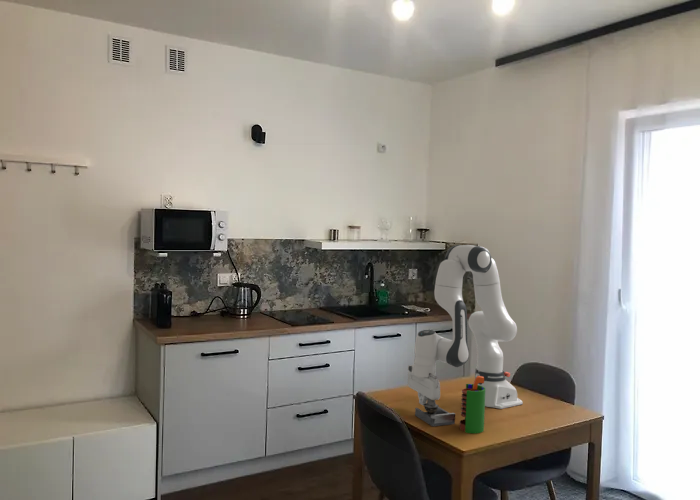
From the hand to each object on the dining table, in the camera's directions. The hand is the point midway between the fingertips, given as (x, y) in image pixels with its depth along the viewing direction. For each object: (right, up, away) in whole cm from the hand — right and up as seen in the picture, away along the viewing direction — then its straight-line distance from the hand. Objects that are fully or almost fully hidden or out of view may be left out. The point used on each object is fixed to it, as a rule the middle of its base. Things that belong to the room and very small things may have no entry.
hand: (422, 404), depth 234 cm
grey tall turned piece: (+3, -3, -6) cm, 7 cm away
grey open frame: (+4, -4, -8) cm, 10 cm away
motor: (+16, -5, -17) cm, 24 cm away
